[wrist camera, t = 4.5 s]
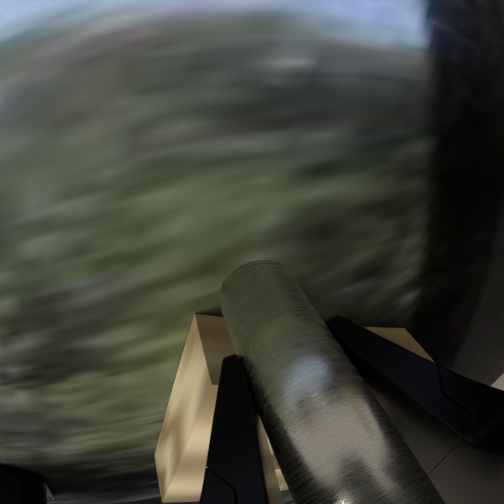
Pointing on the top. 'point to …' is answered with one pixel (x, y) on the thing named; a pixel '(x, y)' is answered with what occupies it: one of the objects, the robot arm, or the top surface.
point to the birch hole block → (209, 407)
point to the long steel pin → (315, 398)
